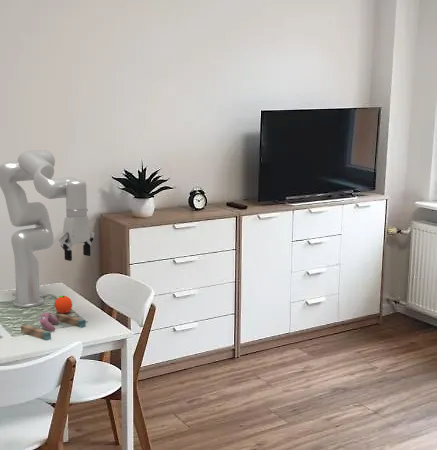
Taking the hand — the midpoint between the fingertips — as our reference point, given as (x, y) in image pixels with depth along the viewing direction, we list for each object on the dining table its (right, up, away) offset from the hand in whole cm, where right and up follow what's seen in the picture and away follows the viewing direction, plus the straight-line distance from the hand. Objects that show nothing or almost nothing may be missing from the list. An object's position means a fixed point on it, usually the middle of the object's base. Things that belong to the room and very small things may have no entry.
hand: (77, 257), depth 259 cm
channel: (-9, -27, -2) cm, 28 cm away
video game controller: (-11, -27, 0) cm, 29 cm away
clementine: (-10, -23, +18) cm, 31 cm away
